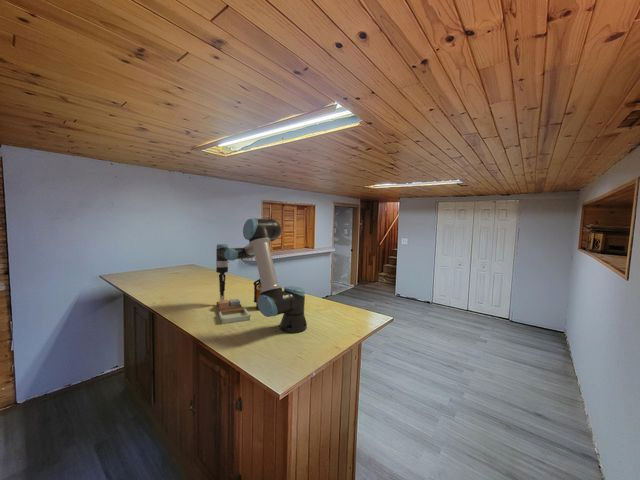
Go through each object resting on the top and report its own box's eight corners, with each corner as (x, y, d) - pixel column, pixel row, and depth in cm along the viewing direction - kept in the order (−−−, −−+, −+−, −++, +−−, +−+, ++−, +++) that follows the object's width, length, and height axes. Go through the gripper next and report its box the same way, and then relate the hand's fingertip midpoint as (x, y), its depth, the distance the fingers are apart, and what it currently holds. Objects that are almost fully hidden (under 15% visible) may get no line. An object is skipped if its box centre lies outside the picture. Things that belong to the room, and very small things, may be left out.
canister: (268, 310, 178) (268, 281, 177) (251, 309, 178) (251, 280, 177) (270, 306, 187) (271, 278, 185) (255, 305, 187) (255, 277, 186)
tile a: (229, 306, 177) (229, 302, 176) (219, 307, 174) (219, 303, 174) (227, 303, 182) (227, 299, 182) (218, 304, 179) (218, 300, 179)
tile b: (240, 304, 180) (240, 301, 180) (230, 306, 177) (230, 302, 177) (238, 302, 185) (238, 298, 185) (229, 303, 182) (229, 299, 182)
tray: (250, 320, 160) (250, 315, 160) (221, 324, 153) (221, 319, 153) (245, 313, 172) (245, 308, 172) (218, 316, 164) (219, 311, 164)
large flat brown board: (243, 313, 171) (243, 309, 171) (220, 316, 165) (220, 312, 165) (237, 303, 191) (237, 299, 191) (216, 305, 184) (216, 302, 184)
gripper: (229, 267, 180) (229, 302, 182) (226, 264, 191) (226, 296, 193) (217, 268, 176) (217, 303, 178) (215, 265, 188) (215, 298, 190)
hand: (222, 299), depth 186 cm, fingers closed
